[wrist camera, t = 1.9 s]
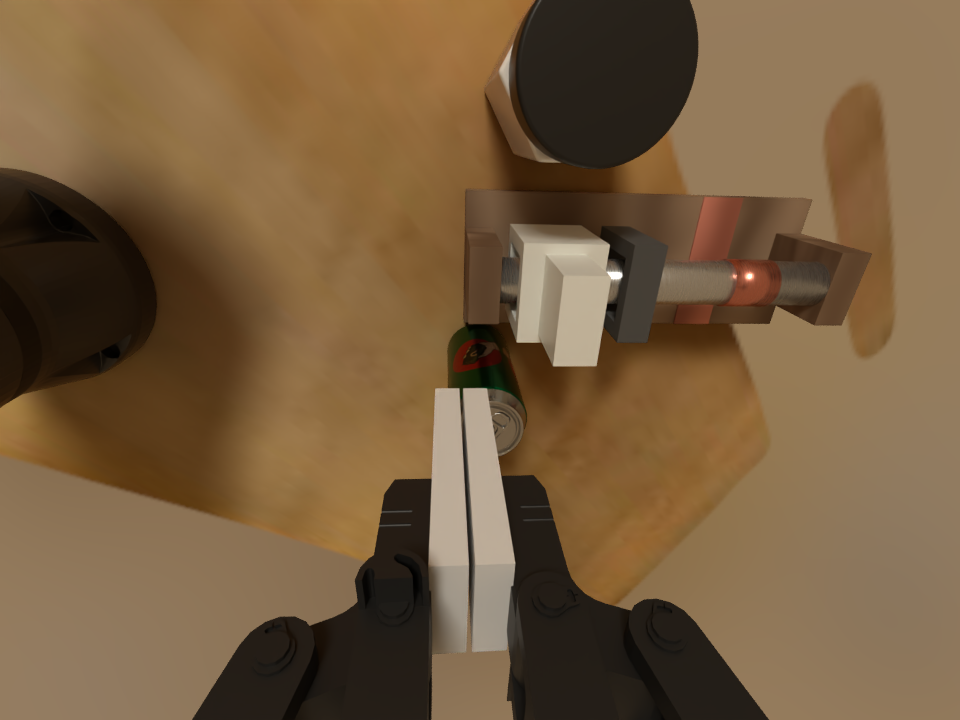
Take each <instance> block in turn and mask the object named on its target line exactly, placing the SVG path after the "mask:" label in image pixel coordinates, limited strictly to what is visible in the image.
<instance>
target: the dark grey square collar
mask: <svg viewBox="0 0 960 720" xmlns="http://www.w3.org/2000/svg"><path fill="white" fill-rule="evenodd" d="M600 238H601V239H602V240H604V241H605V242H606V243H608V244H609V245H610V248H609V254H608V259H626V260H625V266H624V272H623V277H622V283H621V288H620V294H619V299H618V304H607V306H606V312H605V318H604V324H603V326H604V327H605V329H606V330H607V331H608V332H609V334H610V335H611V336H612V337H613V338H614V340H615V341H616V342H617V343H647V341H648V337H649V332H650V328H651V323H652V319H653V314H654V309H655V305H656V300H657V296H658V291H659V287H660V282H661V278H662V273H663V268H664V264H665V259H666V255H667V250H668V245H666V244H664V243H662V242H660V241H658V240H656V239H654V238H652V237H650V236H648V235H646V234H644V233H642V232H640V231H638V230H636V229H634V228H632V227H630V226H602V228H601V235H600Z"/></svg>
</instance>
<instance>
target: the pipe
mask: <svg viewBox="0 0 960 720" xmlns="http://www.w3.org/2000/svg"><path fill="white" fill-rule="evenodd" d="M625 260H626V259H608V260H607V266H606V272H607V273H608V274H610V275H611V276H612V277H611V283H610V289H609V294H608V300H607V304H618V299H619V294H620V288H621V283H622V277H623V272H624V266H625ZM519 268H520V257H502V274H501V292H500V303H517V295H518V282H519ZM829 286H830V274H829V271H828V269H827V268H826V266H825V265H823V264H822V263H819V262H789V261H772V260H758V259H723V260H665V264H664V268H663V273H662V278H661V282H660V287H659V291H658V296H657V300H656V304H671V305H717V306H743V307H764V306H767V305H802V306H811V305H815V304H817V303H819V302H820V301H822V300H823V298H824V297H825V296H826V294H827V292H828V290H829Z"/></svg>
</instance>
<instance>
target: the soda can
mask: <svg viewBox="0 0 960 720" xmlns="http://www.w3.org/2000/svg"><path fill="white" fill-rule="evenodd" d="M447 354H448V388H459V392H460V410H461V429H462V424H463V388H487V392H488V399H489V405H490V411H491V417H492V423H493V429H494V435H495V442H496V448H497V454H498V457H499V456H502V455H505V454H507V453H508V452H510V451H511V450H513V449H514V448H515V447H516V446H517V445H518V443H519V442H520V440H521V438H522V435H523V431H524V429H525V427H526V423H527V413H526V409H525V406H524V402H523V399H522V395H521V392H520V389H519V385H518V382H517V378H516V375H515V372H514V368H513V365H512V361H511V358H510V354H509V351H508V348H507V344H506V341H505V339H504V337H503V336H502V334H501V333H500V332H499V331H498V330H496V329H495V328H493V327H491V326H489V325H485V324H471V325H468V326H465V327H463V328H461V329H460V330H458V331H457V332H456V333H455V334H454V335H453V336H452V338H451V340H450V342H449V344H448V350H447Z"/></svg>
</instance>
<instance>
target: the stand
mask: <svg viewBox="0 0 960 720" xmlns="http://www.w3.org/2000/svg"><path fill="white" fill-rule="evenodd" d="M811 202H812V200H811V199H805V198H782V197H745V196H708V195H707V196H706V195H672V194H635V193H598V192H562V191H525V190H488V189H466V196H465V255H464V314H463V319H464V322H468V324H499V322H500V323H510V322H509V319H508V316H507V313H506V310H505V303H500V292H501V274H502V257H508V251H509V234H510V224H541V225H581V226H583V227H584V228H586V229H587V230H589V231H590V232H592V233H593V234H595V235H596V236H598V237H599V238H600V235H601V228H602V226H630V227H632V228H634V229H636V230H638V231H640V232H642V233H644V234H646V235H648V236H650V237H652V238H654V239H656V240H658V241H660V242H662V243H664V244H666V245H668V250H667V255H666V259H665V260H723V259H758V260H772V261H789V262H819V263H822V264H823V265H825V266H826V268H827V269H828V271H829V274H830V286H829V290H828V292H827V294H826V296H825V297H824V298H823V300H822V301H820V302H819V303H817V304H815V305H811V306H802V305H767V306H764V307H743V306H717V305H671V304H656V305H655V309H654V314H653V319H652V323H673V324H708V323H731V324H740V323H741V324H751V323H752V324H769V323H770V321H771V318H772V315H773V312H774V309H775V306H778V307H780V308H782V309H784V310H786V311H788V312H790V313H791V314H794V315H795V316H797V317H799V318H801V319H803V320H805V321H807V322H809V323H811V324H813V325H842V323H843V320H844V318H845V316H846V314H847V311H848V309H849V307H850V304H851V302H852V299H853V297H854V295H855V292H856V290H857V288H858V285H859V283H860V281H861V278H862V276H863V274H864V271H865V269H866V267H867V264H868V262H869V260H870V257H871V255H872V254H871V253H868V252H864V251H861V250H857V249H854V248H850V247H846V246H843V245H839V244H836V243H832V242H828V241H825V240H821V239H817V238H814V237H810V236H807V235H803V234H801V231H802V229H803V226H804V222H805V220H806V217H807V214H808V211H809V208H810V206H811Z"/></svg>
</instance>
